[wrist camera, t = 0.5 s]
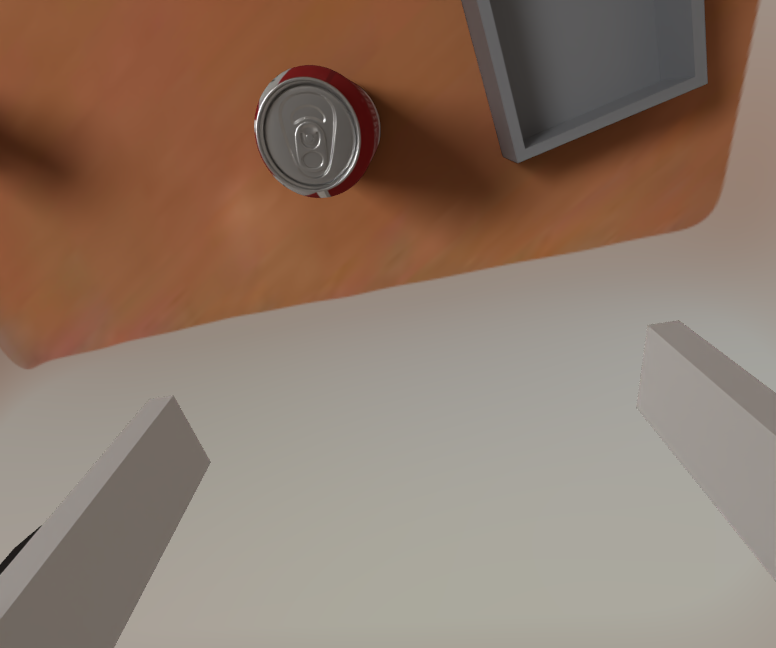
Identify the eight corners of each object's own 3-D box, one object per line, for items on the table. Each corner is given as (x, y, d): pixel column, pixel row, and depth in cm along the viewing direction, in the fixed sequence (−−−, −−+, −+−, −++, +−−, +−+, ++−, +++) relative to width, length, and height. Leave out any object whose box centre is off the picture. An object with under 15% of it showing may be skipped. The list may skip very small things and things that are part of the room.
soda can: (378, 76, 30) (368, 57, 19) (382, 172, 33) (376, 202, 22) (288, 80, 30) (230, 64, 19) (301, 175, 33) (256, 206, 23)
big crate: (439, -83, 26) (446, -119, 22) (642, -198, 23) (692, -262, 19) (502, 156, 32) (517, 163, 28) (666, 87, 30) (707, 83, 26)
